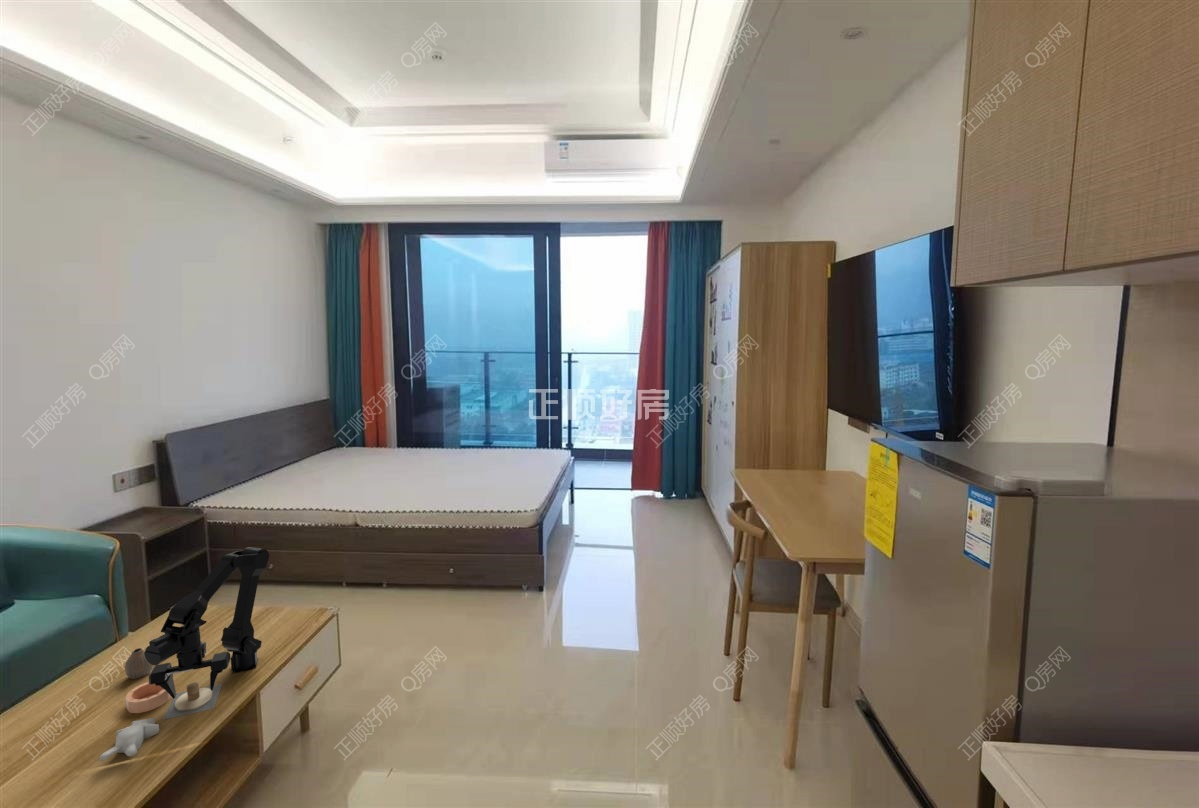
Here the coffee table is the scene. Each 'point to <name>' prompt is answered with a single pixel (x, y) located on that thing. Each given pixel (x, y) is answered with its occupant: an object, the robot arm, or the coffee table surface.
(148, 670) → the vase
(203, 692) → the lid
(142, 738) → the grey toy figurine
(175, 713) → the mat
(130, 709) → the bowl
